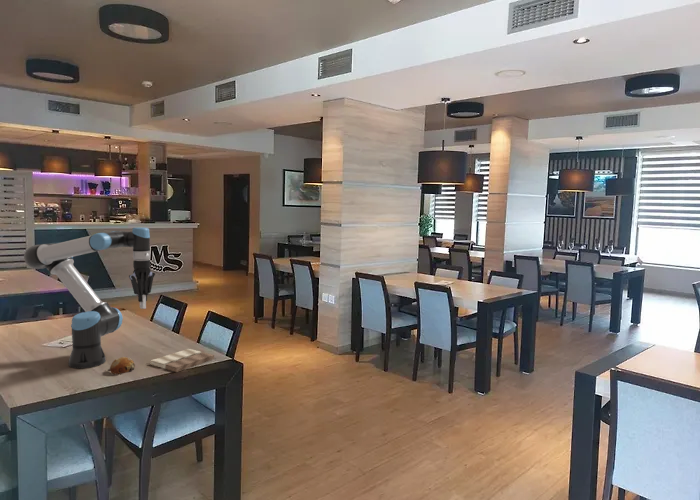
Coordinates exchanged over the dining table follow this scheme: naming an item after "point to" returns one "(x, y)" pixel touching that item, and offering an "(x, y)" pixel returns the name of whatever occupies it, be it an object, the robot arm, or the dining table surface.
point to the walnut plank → (189, 362)
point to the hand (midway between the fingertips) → (142, 308)
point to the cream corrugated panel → (173, 357)
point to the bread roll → (122, 365)
